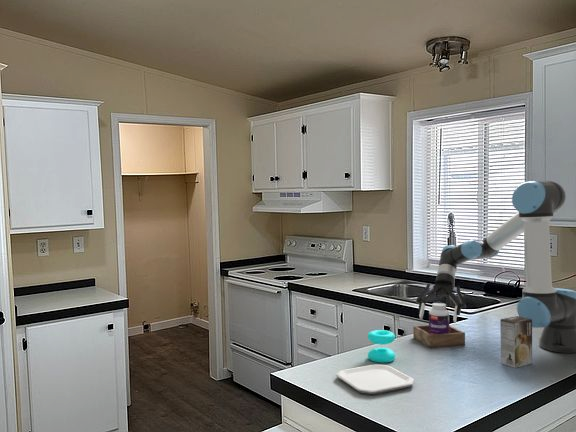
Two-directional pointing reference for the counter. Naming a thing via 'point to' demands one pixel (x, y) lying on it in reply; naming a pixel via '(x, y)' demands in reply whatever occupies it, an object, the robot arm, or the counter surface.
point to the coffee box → (516, 341)
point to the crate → (439, 337)
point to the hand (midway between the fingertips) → (437, 319)
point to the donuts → (381, 353)
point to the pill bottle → (438, 319)
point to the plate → (375, 379)
